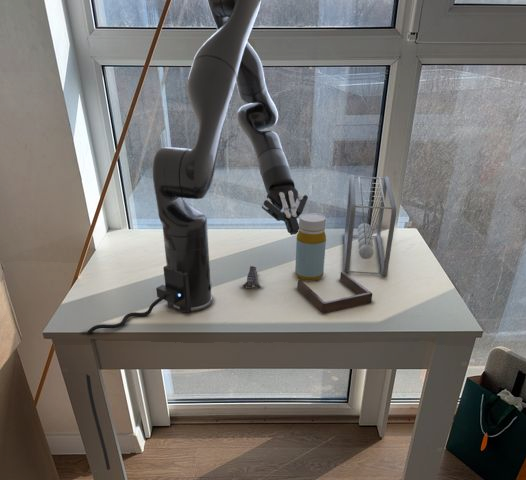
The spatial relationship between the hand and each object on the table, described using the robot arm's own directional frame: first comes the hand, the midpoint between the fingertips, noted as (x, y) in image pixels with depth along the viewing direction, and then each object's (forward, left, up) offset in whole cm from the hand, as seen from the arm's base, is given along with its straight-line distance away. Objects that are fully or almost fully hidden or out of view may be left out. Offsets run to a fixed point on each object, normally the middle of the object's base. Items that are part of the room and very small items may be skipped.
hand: (294, 233), depth 129 cm
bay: (-10, -18, -8) cm, 22 cm away
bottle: (-4, -7, -8) cm, 12 cm away
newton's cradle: (+16, -12, -8) cm, 22 cm away
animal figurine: (-17, +1, -8) cm, 19 cm away
